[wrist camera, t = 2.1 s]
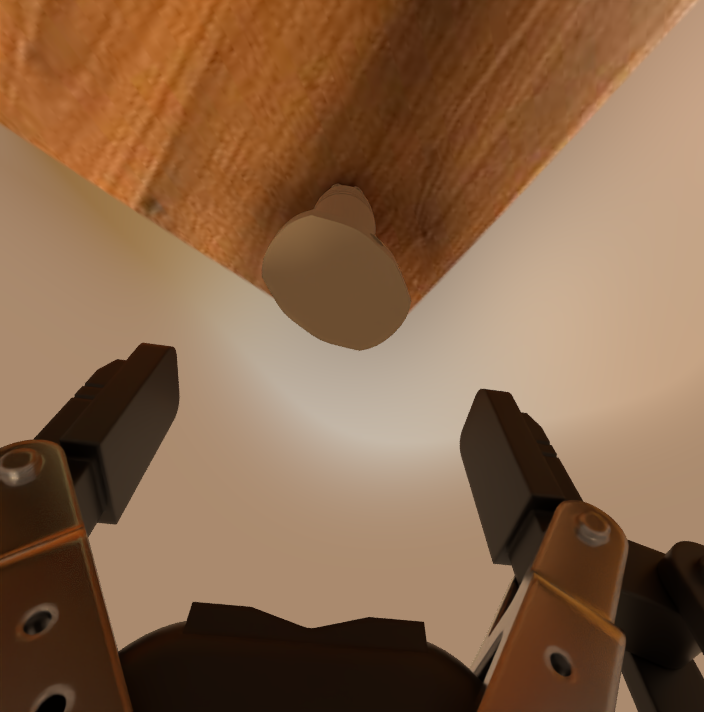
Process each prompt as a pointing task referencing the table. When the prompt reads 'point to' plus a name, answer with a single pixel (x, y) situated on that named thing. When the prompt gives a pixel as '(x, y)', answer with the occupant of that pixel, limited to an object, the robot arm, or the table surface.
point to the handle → (337, 273)
